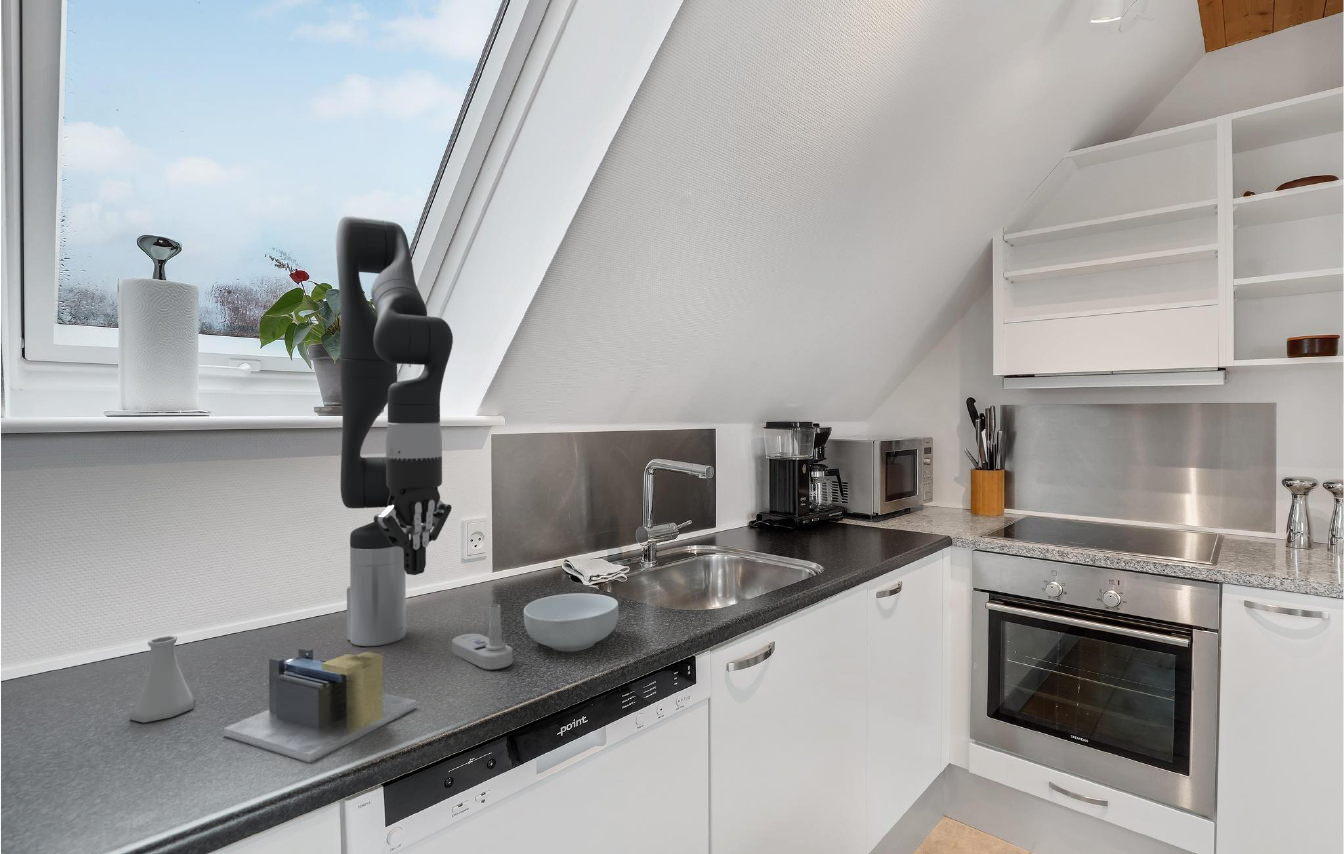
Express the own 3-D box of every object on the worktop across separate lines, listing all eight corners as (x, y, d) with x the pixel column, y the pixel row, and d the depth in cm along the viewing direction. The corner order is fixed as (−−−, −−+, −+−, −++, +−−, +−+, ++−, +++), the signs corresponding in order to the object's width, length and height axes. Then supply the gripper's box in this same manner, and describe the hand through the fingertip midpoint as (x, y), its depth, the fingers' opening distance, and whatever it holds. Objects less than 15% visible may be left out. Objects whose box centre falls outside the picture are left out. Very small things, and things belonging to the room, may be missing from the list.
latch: (322, 728, 82) (322, 663, 82) (358, 711, 87) (358, 649, 87) (347, 735, 80) (347, 668, 80) (382, 717, 85) (382, 654, 85)
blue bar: (278, 672, 88) (278, 661, 88) (297, 664, 90) (297, 654, 90) (338, 684, 83) (338, 673, 83) (357, 676, 85) (357, 665, 85)
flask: (187, 696, 94) (186, 627, 94) (203, 709, 90) (202, 637, 90) (122, 713, 89) (122, 640, 89) (136, 729, 84) (136, 652, 84)
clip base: (223, 735, 82) (223, 672, 82) (336, 688, 97) (335, 634, 96) (309, 762, 75) (309, 693, 75) (416, 707, 90) (416, 650, 90)
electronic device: (474, 591, 117) (517, 605, 106) (475, 646, 117) (519, 665, 106) (445, 597, 113) (487, 612, 102) (447, 653, 113) (489, 674, 102)
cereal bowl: (556, 625, 127) (556, 589, 127) (634, 634, 121) (633, 596, 121) (503, 653, 111) (503, 612, 111) (589, 666, 105) (589, 623, 105)
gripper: (397, 458, 86) (398, 588, 87) (466, 452, 98) (467, 566, 99) (356, 456, 89) (357, 581, 90) (428, 450, 101) (429, 561, 102)
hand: (415, 573), depth 94 cm, fingers closed
